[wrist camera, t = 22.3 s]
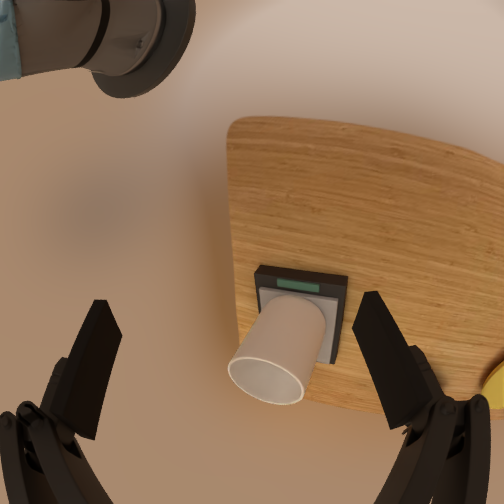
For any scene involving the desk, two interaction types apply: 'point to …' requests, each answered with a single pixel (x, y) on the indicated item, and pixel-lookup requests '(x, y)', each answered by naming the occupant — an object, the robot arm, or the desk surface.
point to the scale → (313, 289)
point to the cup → (280, 351)
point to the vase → (495, 387)
